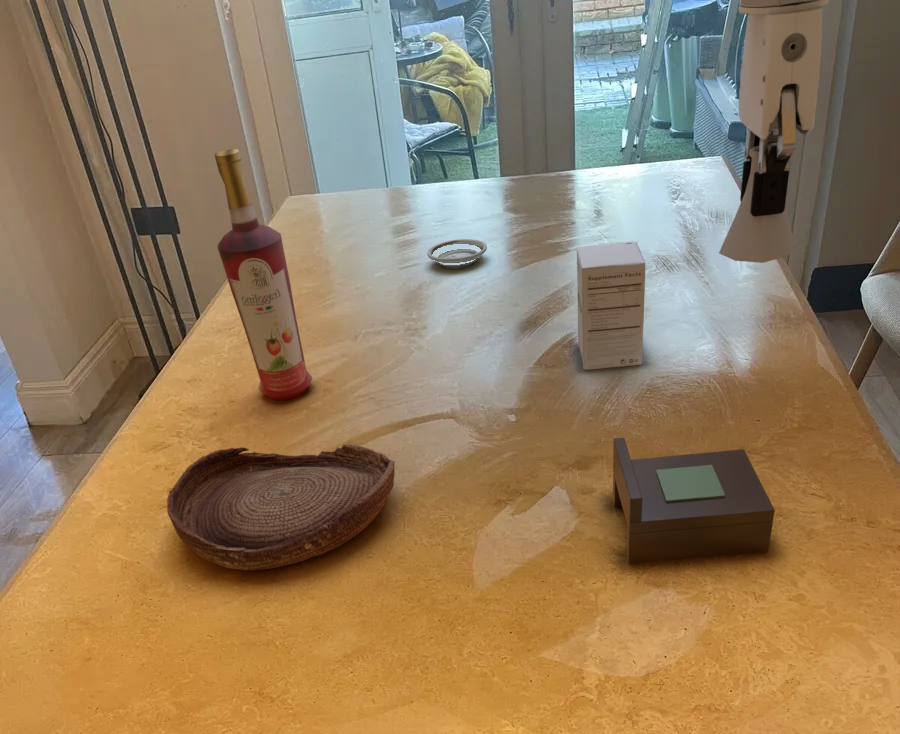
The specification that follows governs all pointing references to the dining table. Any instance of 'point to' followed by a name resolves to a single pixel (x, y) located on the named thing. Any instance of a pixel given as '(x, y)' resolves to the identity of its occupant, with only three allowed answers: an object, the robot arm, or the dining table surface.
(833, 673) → the dining table surface
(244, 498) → the basket
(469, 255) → the saucer
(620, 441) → the brown toy bed
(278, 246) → the liquor
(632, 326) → the white packaging box
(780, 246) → the flask
